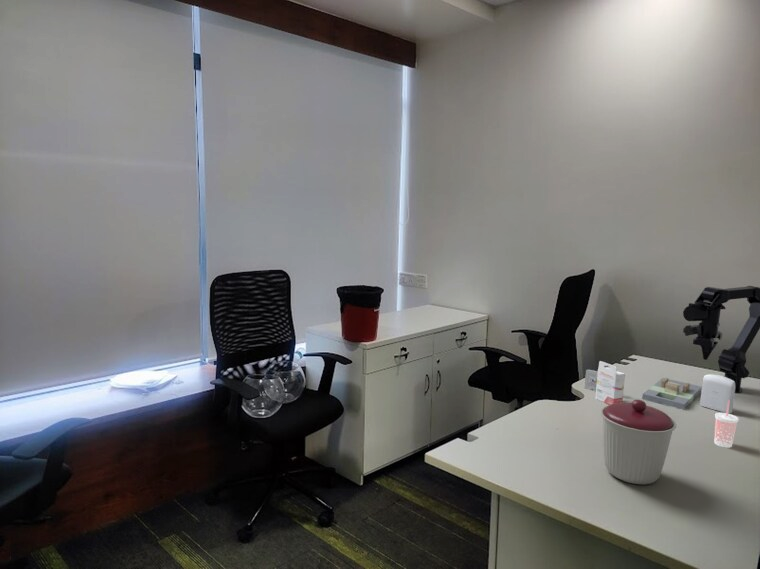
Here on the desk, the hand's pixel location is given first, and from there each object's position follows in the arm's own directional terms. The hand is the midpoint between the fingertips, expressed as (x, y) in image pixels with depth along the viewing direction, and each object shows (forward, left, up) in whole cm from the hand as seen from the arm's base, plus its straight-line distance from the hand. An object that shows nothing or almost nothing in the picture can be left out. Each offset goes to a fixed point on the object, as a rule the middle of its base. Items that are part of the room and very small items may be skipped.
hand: (705, 359), depth 207 cm
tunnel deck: (+13, -7, -13) cm, 20 cm away
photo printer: (+17, +8, -13) cm, 23 cm away
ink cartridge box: (+38, -22, -13) cm, 46 cm away
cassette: (+30, -28, -13) cm, 43 cm away
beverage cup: (+48, +16, -13) cm, 52 cm away
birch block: (+16, -7, -11) cm, 20 cm away
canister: (+88, +2, -13) cm, 89 cm away
